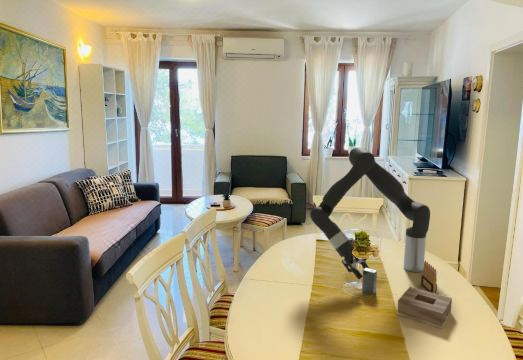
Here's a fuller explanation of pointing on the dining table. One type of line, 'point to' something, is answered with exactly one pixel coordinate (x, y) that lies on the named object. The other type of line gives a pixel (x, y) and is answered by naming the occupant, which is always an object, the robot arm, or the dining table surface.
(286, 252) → the dining table surface
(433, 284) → the ammunition clip
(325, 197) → the robot arm
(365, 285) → the gray rectangular block
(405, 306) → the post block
